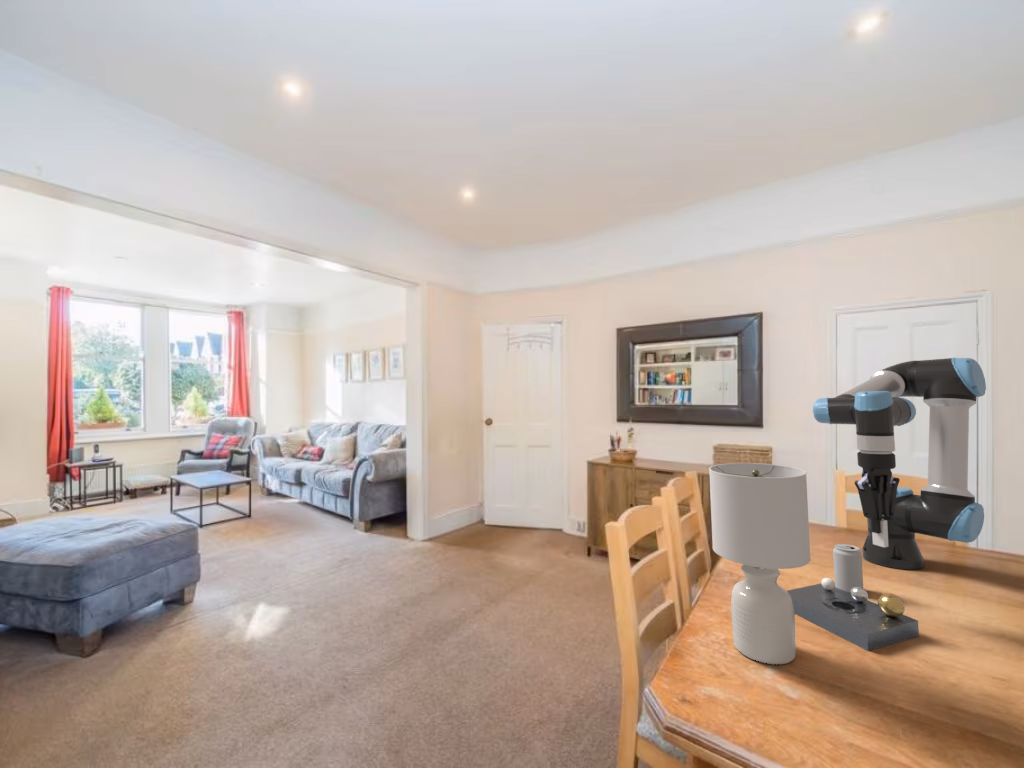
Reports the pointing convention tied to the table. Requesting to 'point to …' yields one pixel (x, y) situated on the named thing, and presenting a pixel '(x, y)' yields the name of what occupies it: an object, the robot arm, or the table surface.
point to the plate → (851, 617)
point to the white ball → (828, 583)
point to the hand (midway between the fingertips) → (880, 545)
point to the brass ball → (891, 605)
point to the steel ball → (859, 594)
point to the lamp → (761, 550)
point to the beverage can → (847, 567)
